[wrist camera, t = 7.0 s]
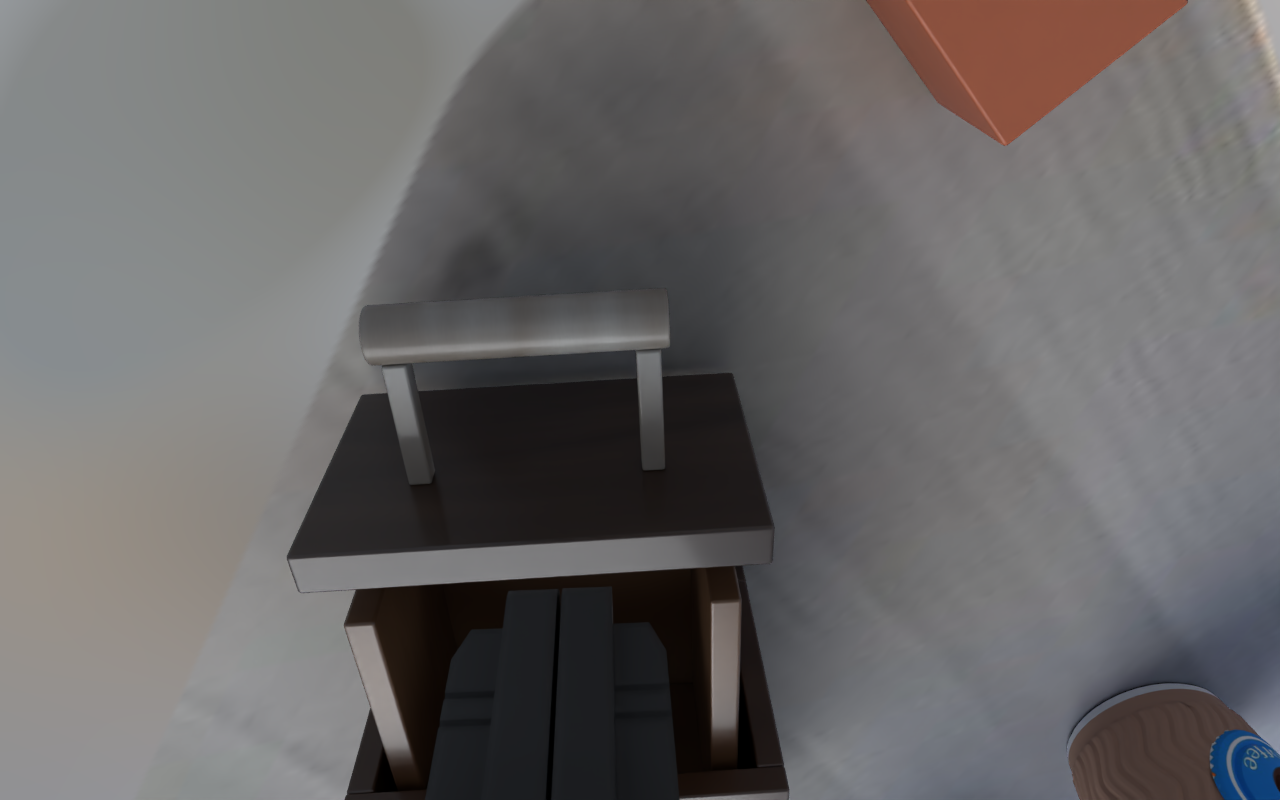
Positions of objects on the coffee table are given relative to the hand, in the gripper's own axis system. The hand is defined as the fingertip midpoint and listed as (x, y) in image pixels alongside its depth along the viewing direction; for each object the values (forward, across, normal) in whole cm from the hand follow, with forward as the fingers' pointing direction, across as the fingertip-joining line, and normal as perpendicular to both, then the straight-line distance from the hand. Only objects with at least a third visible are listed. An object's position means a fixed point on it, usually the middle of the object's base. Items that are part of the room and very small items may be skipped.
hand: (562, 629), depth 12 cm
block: (+14, -10, -7) cm, 19 cm away
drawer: (+13, +1, +8) cm, 16 cm away
